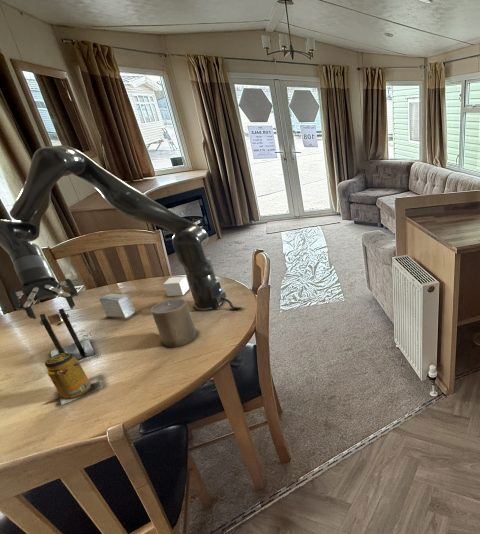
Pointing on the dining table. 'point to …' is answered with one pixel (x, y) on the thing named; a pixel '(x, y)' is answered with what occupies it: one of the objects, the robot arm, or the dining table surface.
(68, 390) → the condiment
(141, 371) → the dining table surface
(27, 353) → the dining table surface
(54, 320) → the lever
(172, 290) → the white cube
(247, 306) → the dining table surface
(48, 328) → the bracket
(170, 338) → the pillar candle
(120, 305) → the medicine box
